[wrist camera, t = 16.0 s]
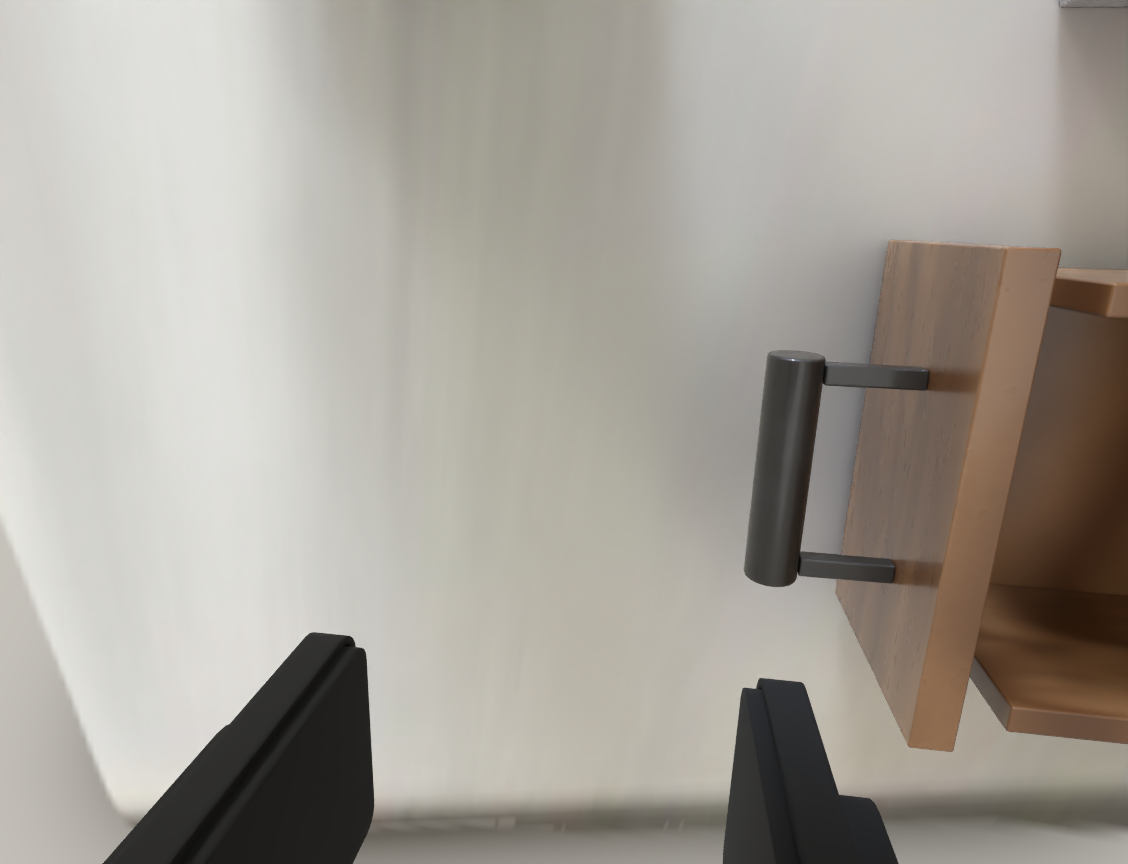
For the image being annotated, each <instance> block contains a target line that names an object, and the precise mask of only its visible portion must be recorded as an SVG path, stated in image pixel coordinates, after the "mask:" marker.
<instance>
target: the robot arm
mask: <svg viewBox="0 0 1128 864" xmlns="http://www.w3.org/2000/svg"><path fill="white" fill-rule="evenodd" d="M373 811H374V789H373V770H372V751H371V733H370V714H369V696H368V677H367V659H366V653H365V650H364V649H363V648H357V647H355V642H354V640H353V638H352V637H350V636H345V635H335V634H325V633H315V632H314V633H310V634H308V635H307V636H306V637H305V638H304V639H303V640H302V642H301V643H300V644H299V645H298V646H297V647H296V648H295V650H294V651H293V652H292V653H291V654H290V655H289V657H288V658H287V659H286V660H285V661H284V662H283V663H282V665H281V666H280V667H279V668H278V669H277V670H276V671H275V673H274V674H273V675H272V676H271V677H270V678H269V680H268V681H267V682H266V683H265V684H264V685H263V686H262V688H261V689H260V690H259V691H258V692H257V693H256V694H255V696H254V697H253V698H252V699H251V700H250V701H249V703H248V704H247V705H246V706H245V707H244V708H243V709H242V711H241V712H240V713H239V714H238V715H237V716H236V718H235V719H234V720H233V721H232V722H231V723H230V724H229V725H226V726H225V727H224V728H223V729H222V730H220V731H219V732H218V733H217V734H216V735H215V736H214V738H213V739H212V740H211V741H210V742H209V743H208V744H207V746H206V747H205V748H204V749H203V750H202V751H201V752H200V754H199V755H198V756H197V757H196V758H195V759H194V760H193V761H192V763H191V764H190V765H189V766H188V767H187V768H186V769H185V771H184V772H183V773H182V774H181V775H180V776H179V777H178V779H177V780H176V781H175V782H174V783H173V784H172V785H171V787H170V788H169V789H168V790H167V791H166V792H165V793H164V795H163V796H162V797H161V798H160V799H159V800H158V801H157V802H156V804H155V805H154V806H153V807H152V808H151V809H150V810H149V812H148V813H147V814H146V815H145V816H144V817H143V818H142V820H141V821H140V822H139V823H138V824H137V825H136V826H135V828H134V829H133V830H132V831H131V832H130V833H129V834H128V836H127V837H126V838H125V839H124V840H123V841H122V842H121V843H120V845H119V846H118V847H117V848H116V849H115V850H114V851H113V853H112V854H111V855H110V856H109V857H108V858H107V860H106V861H105V862H104V863H103V864H353V862H354V860H355V858H356V856H357V853H358V851H359V849H360V847H361V845H362V843H363V841H364V839H365V837H366V835H367V833H368V830H369V828H370V824H371V821H372V817H373ZM723 850H724V851H723V864H898V861H897V858H896V856H895V853H894V851H893V848H892V845H891V843H890V840H889V837H888V834H887V832H886V829H885V826H884V823H883V821H882V818H881V815H880V813H879V811H878V809H877V807H876V805H875V803H874V802H873V801H872V800H871V799H869V798H861V797H853V796H844V795H839V794H838V790H837V787H836V784H835V781H834V778H833V774H832V771H831V768H830V765H829V762H828V758H827V755H826V752H825V749H824V745H823V742H822V739H821V736H820V733H819V729H818V726H817V723H816V720H815V717H814V713H813V710H812V707H811V704H810V701H809V697H808V694H807V691H806V688H805V686H804V684H803V683H802V682H794V681H784V680H774V679H764V678H760V679H759V680H758V683H757V688H756V689H751V688H743V690H742V694H741V701H740V709H739V718H738V727H737V736H736V744H735V753H734V762H733V770H732V779H731V788H730V796H729V805H728V814H727V822H726V831H725V840H724V849H723Z"/></svg>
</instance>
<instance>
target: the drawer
mask: <svg viewBox="0 0 1128 864" xmlns="http://www.w3.org/2000/svg"><path fill="white" fill-rule="evenodd" d="M1060 256H1061V250H1060V249H1057V248H1039V247H1021V246H1003V245H985V244H967V243H949V242H931V241H905V240H890V241H889V242H888V247H887V254H886V260H885V267H884V274H883V280H882V287H881V294H880V300H879V307H878V313H877V320H876V327H875V333H874V340H873V347H872V353H871V360H870V364H858V363H839V362H826V360H825V357H823V356H821V355H819V354H815V353H810V352H803V351H789V350H782V351H773V352H770V353H769V354H768V355H767V364H766V373H765V382H764V391H763V400H762V409H761V418H760V427H759V436H758V445H757V454H756V463H755V472H754V482H753V491H752V500H751V509H750V518H749V527H748V536H747V545H746V554H745V563H744V572H745V575H746V576H747V577H748V578H749V579H751V580H752V581H754V582H756V583H759V584H762V585H766V586H772V587H784V586H789V585H791V584H793V583H794V582H795V580H796V578H797V572H798V574H799V576H807V577H819V578H830V579H837V585H836V595H837V597H838V599H839V601H840V603H841V605H842V608H843V610H844V612H845V614H846V616H847V618H848V620H849V622H850V624H851V627H852V629H853V631H854V633H855V635H856V637H857V639H858V641H859V643H860V645H861V648H862V650H863V652H864V654H865V656H866V658H867V660H868V662H869V664H870V667H871V669H872V671H873V673H874V675H875V677H876V679H877V681H878V683H879V686H880V688H881V690H882V692H883V694H884V696H885V698H886V700H887V702H888V705H889V707H890V709H891V711H892V713H893V715H894V717H895V719H896V721H897V724H898V726H899V728H900V730H901V732H902V734H903V736H904V738H905V740H906V743H907V745H908V746H909V747H912V748H921V749H930V750H939V751H948V752H952V751H953V749H954V745H955V740H956V736H957V731H958V726H959V722H960V717H961V713H962V708H963V703H964V699H965V694H966V690H967V685H968V680H969V677H970V678H971V680H972V681H973V683H974V684H975V685H976V687H977V688H978V690H979V691H980V693H981V694H982V696H983V697H984V699H985V700H986V702H987V703H988V705H989V706H990V707H991V709H992V710H993V712H994V713H995V715H996V716H997V718H998V719H999V721H1000V722H1001V724H1002V725H1003V726H1004V728H1005V729H1006V730H1007V731H1009V732H1018V733H1028V734H1037V735H1047V736H1056V737H1065V738H1075V739H1084V740H1093V741H1103V742H1112V743H1121V744H1128V270H1112V269H1084V268H1058V265H1059V261H1060ZM822 384H824V385H827V386H845V387H864V388H866V393H865V400H864V406H863V413H862V419H861V426H860V433H859V439H858V446H857V453H856V459H855V466H854V472H853V479H852V486H851V492H850V499H849V505H848V512H847V519H846V525H845V532H844V539H843V545H842V552H841V555H838V554H826V553H813V552H801V551H800V549H801V541H802V534H803V526H804V519H805V512H806V504H807V497H808V489H809V482H810V474H811V467H812V459H813V452H814V444H815V437H816V429H817V422H818V414H819V407H820V399H821V392H822Z"/></svg>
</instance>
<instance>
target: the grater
mask: <svg viewBox="0 0 1128 864" xmlns="http://www.w3.org/2000/svg"><path fill="white" fill-rule="evenodd" d="M1059 6H1060V7H1128V0H1060V4H1059Z"/></svg>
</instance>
